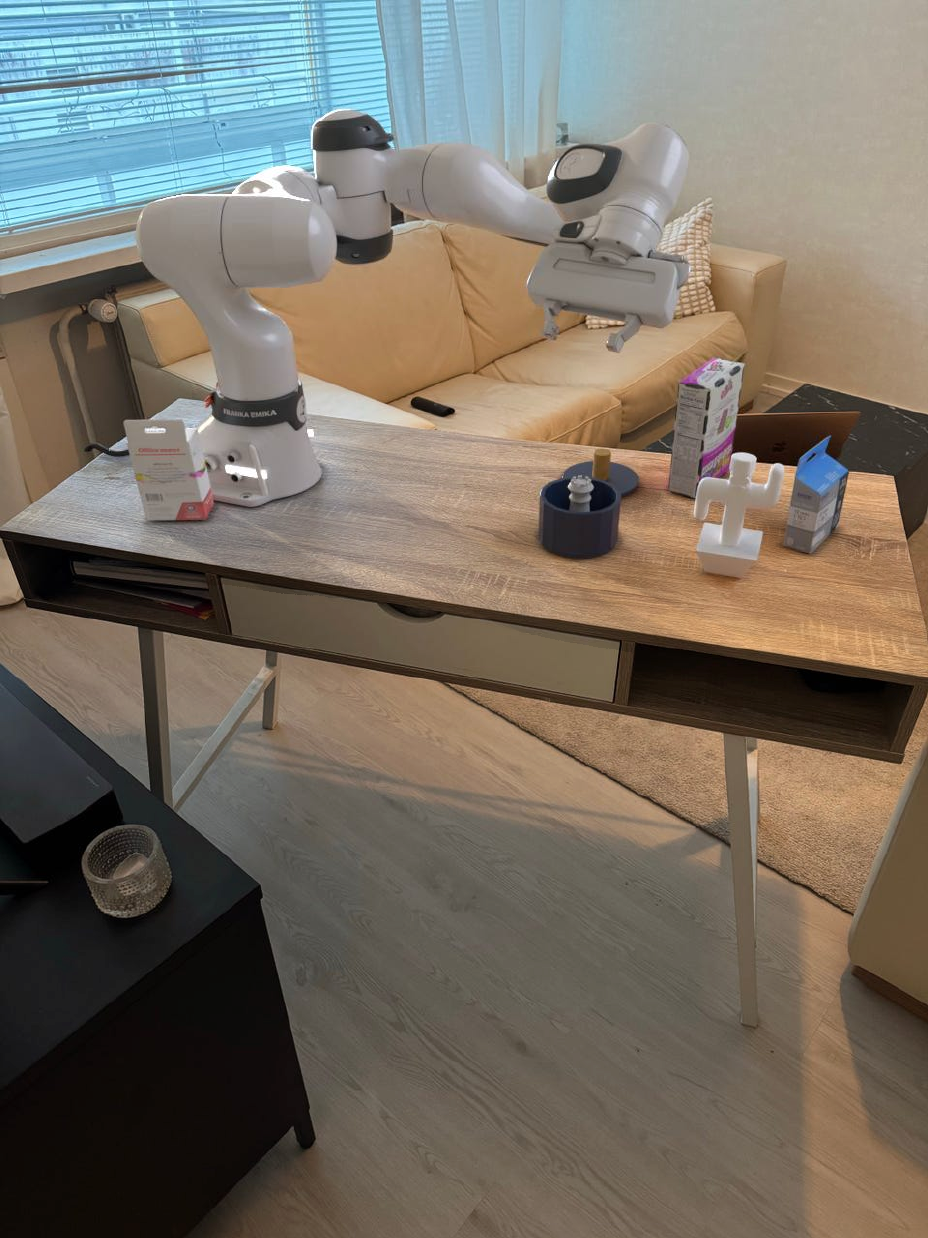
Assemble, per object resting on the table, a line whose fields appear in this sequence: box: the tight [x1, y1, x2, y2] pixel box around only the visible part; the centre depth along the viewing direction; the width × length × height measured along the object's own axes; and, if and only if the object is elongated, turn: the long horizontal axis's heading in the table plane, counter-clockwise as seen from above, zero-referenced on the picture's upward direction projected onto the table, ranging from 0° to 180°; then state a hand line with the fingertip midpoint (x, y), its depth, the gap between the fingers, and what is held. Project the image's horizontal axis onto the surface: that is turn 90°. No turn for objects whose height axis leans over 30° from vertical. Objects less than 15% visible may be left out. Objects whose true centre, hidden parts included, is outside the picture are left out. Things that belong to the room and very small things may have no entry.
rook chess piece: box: [568, 475, 594, 512], centre depth 118 cm, size 4×4×8 cm
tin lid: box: [561, 448, 640, 497], centre depth 132 cm, size 11×11×5 cm
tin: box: [538, 476, 622, 560], centre depth 119 cm, size 10×10×6 cm
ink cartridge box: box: [123, 418, 215, 521], centre depth 124 cm, size 9×5×15 cm, turn 88°
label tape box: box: [783, 435, 850, 555], centre depth 116 cm, size 9×4×12 cm, turn 139°
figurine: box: [693, 452, 786, 579], centre depth 110 cm, size 7×9×15 cm
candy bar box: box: [667, 357, 746, 500], centre depth 128 cm, size 11×5×16 cm, turn 143°
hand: (579, 343), depth 118 cm, fingers open, 8 cm apart
